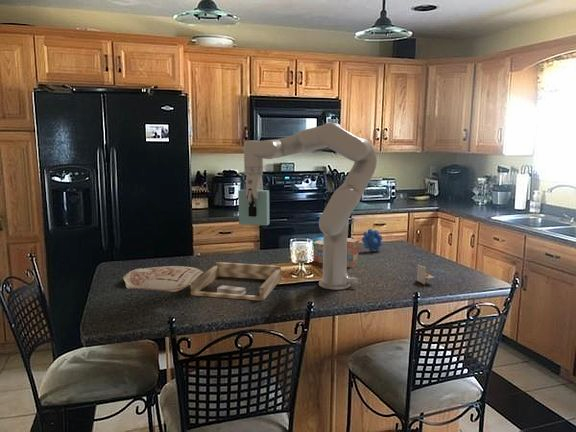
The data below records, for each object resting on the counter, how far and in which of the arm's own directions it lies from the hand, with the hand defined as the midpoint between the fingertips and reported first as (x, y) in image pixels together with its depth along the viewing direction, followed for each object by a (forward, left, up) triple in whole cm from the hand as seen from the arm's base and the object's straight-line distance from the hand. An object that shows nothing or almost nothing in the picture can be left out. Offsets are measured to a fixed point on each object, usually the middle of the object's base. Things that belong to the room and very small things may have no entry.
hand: (254, 214), depth 201 cm
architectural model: (-69, -10, -28) cm, 75 cm away
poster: (+36, +10, -28) cm, 47 cm away
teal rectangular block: (0, 0, -4) cm, 4 cm away
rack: (+2, +16, -27) cm, 32 cm away
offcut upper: (+2, +24, -26) cm, 35 cm away
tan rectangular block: (-30, -32, -28) cm, 52 cm away
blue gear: (-46, -58, -27) cm, 79 cm away
